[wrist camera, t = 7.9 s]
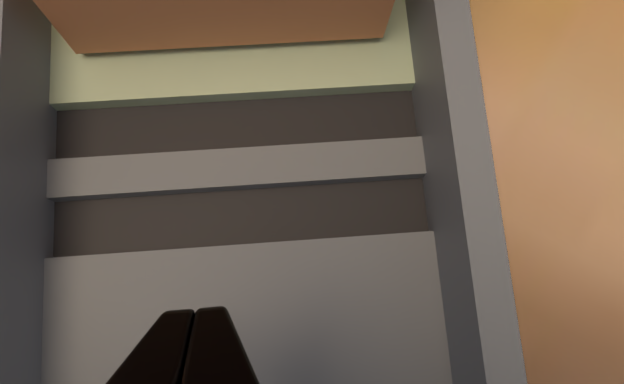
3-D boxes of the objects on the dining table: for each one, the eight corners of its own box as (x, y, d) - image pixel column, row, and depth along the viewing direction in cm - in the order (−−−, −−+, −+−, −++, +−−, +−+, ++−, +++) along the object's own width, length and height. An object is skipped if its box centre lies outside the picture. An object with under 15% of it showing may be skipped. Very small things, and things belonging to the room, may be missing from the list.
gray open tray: (480, 432, 14) (552, 475, 10) (22, 473, 14) (-88, 534, 10) (406, -127, 18) (438, -254, 14) (43, -114, 17) (-30, -241, 13)
